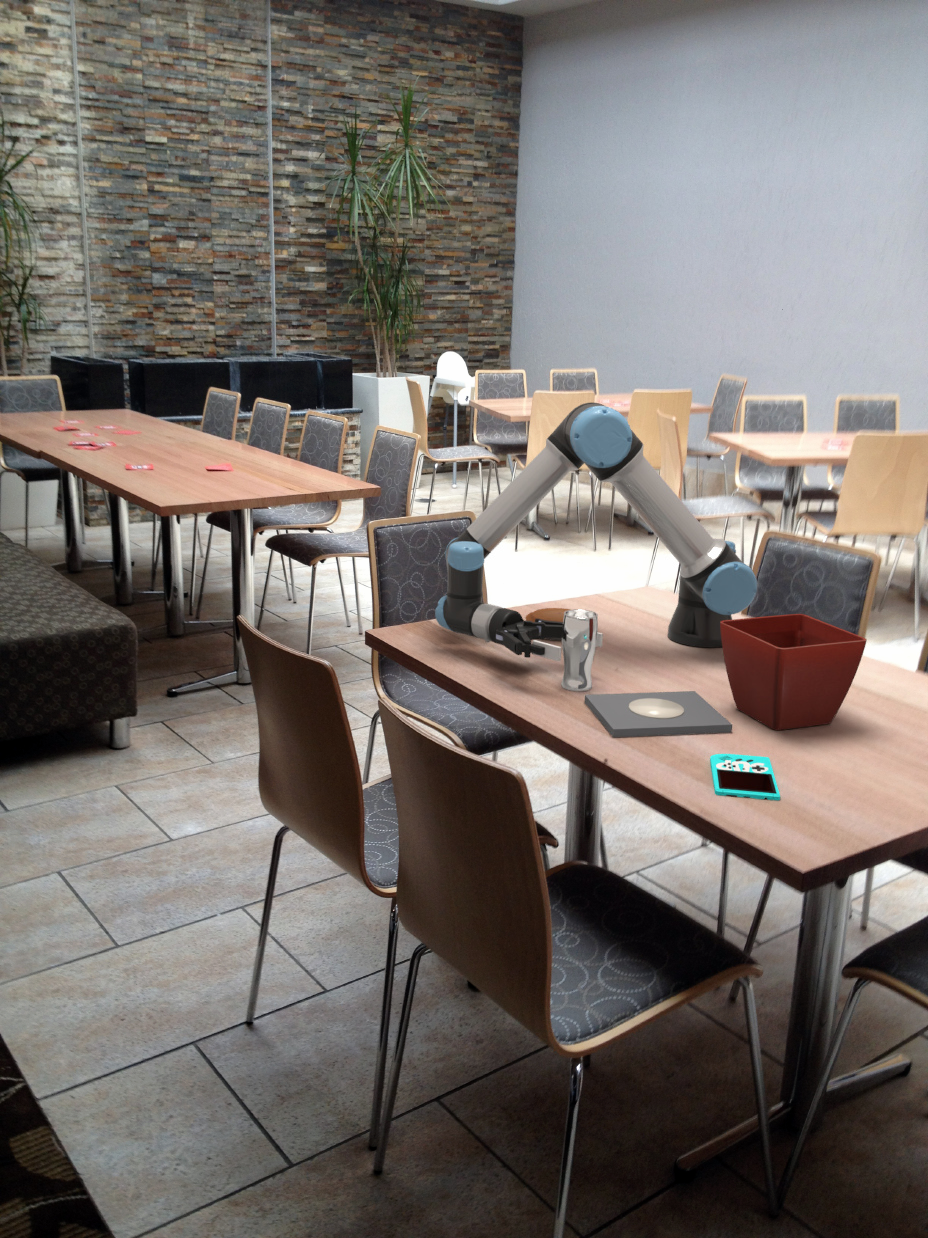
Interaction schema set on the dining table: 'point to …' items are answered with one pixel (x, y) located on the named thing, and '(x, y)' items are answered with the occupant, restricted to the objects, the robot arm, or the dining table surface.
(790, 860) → the dining table surface
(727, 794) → the handheld game console
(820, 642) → the plant pot
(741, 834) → the dining table surface
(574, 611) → the beer glass
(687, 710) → the serving board
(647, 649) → the dining table surface
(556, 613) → the pie
